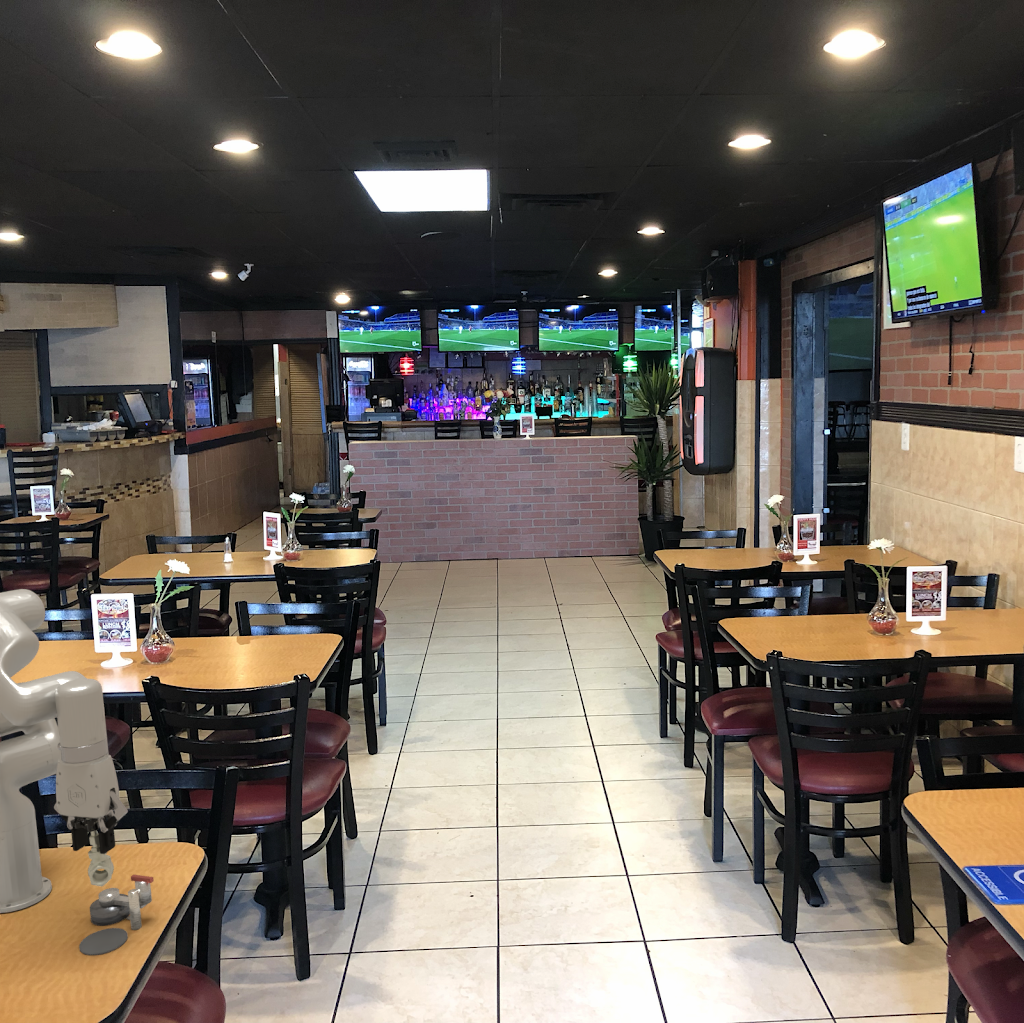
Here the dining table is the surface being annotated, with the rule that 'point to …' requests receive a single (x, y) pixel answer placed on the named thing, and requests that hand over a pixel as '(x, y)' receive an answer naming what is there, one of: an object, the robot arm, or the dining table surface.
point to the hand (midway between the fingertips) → (94, 848)
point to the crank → (114, 898)
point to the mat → (103, 941)
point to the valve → (95, 852)
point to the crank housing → (118, 912)
